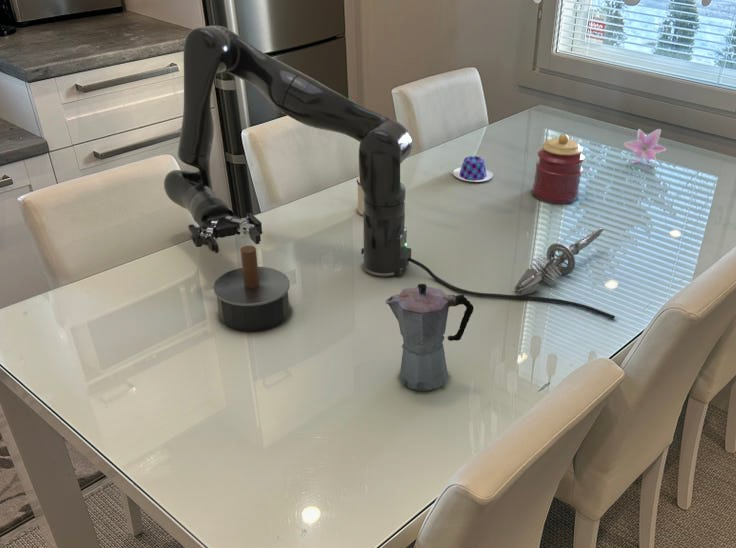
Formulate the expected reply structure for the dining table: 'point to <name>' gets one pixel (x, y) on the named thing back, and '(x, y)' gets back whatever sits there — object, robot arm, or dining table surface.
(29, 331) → the dining table surface
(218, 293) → the lid
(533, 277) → the spaceship
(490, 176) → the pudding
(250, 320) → the pan
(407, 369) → the moka pot
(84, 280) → the dining table surface
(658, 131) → the lily
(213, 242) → the robot arm
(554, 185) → the kitchen canister
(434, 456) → the dining table surface
